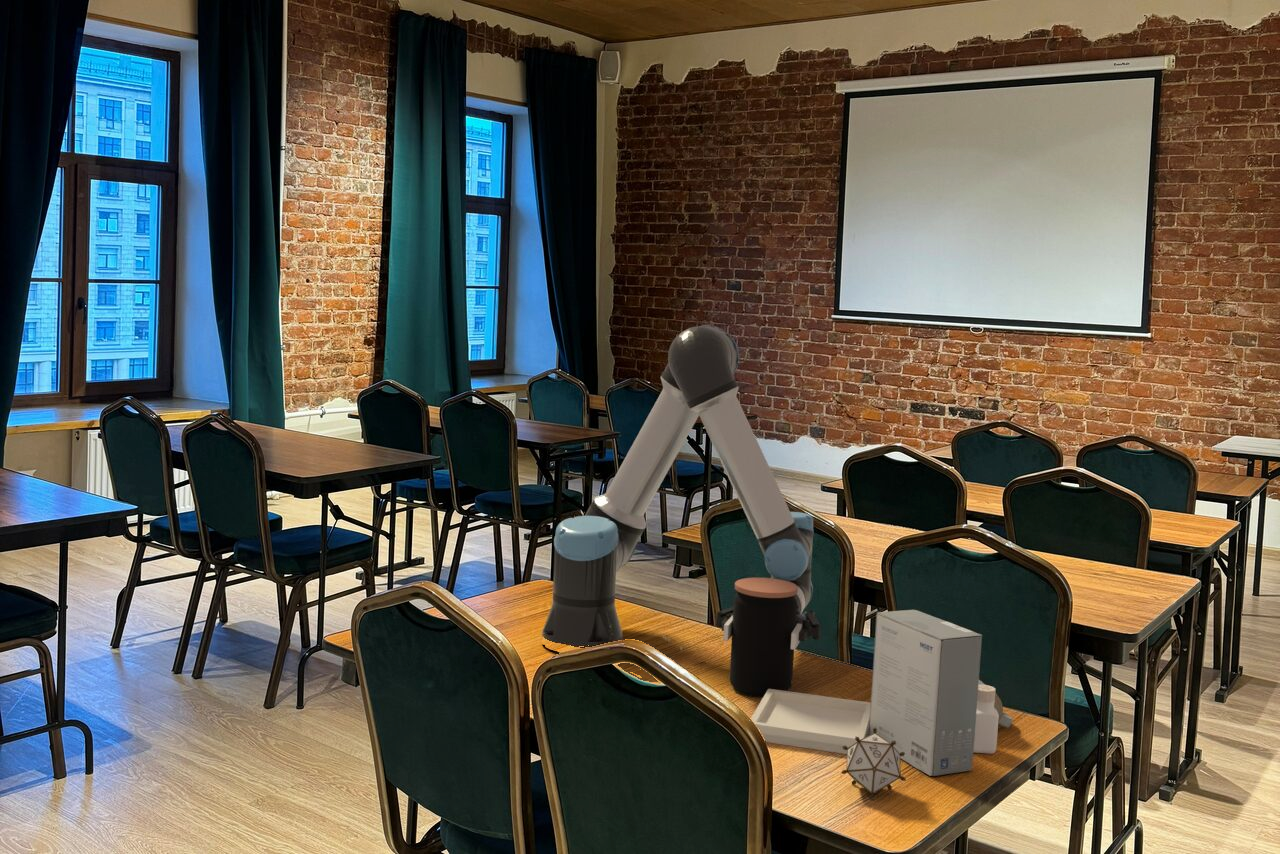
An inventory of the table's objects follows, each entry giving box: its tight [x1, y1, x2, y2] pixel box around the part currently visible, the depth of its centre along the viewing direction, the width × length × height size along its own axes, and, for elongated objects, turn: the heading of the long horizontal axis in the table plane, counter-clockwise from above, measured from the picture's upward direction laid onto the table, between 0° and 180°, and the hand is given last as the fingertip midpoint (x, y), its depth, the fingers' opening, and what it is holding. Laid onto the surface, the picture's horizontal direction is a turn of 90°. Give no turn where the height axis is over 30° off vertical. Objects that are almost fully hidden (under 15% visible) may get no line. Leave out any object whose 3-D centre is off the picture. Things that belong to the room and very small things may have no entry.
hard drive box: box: [868, 609, 983, 777], centre depth 170 cm, size 16×8×20 cm, turn 25°
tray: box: [750, 689, 871, 755], centre depth 180 cm, size 17×17×2 cm
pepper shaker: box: [973, 684, 999, 755], centre depth 174 cm, size 4×4×10 cm
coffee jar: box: [729, 577, 798, 699], centre depth 197 cm, size 11×11×18 cm
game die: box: [840, 727, 907, 801], centre depth 157 cm, size 9×8×10 cm
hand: (759, 637), depth 193 cm, fingers closed on coffee jar, 11 cm apart
